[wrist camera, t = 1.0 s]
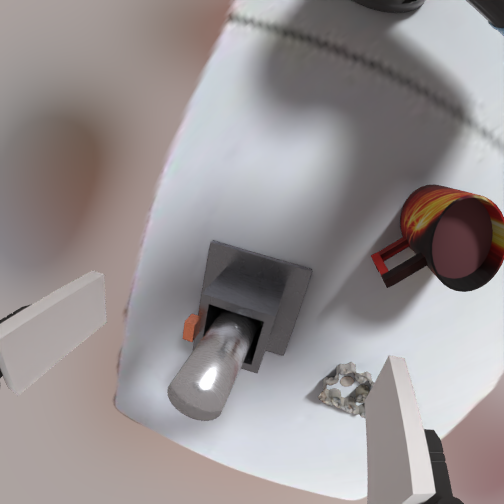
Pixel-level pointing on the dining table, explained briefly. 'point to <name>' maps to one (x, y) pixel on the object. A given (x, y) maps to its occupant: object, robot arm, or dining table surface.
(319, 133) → the dining table surface
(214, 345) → the column
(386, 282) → the mug
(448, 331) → the dining table surface
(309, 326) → the dining table surface
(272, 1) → the dining table surface
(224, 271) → the stand
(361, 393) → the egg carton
